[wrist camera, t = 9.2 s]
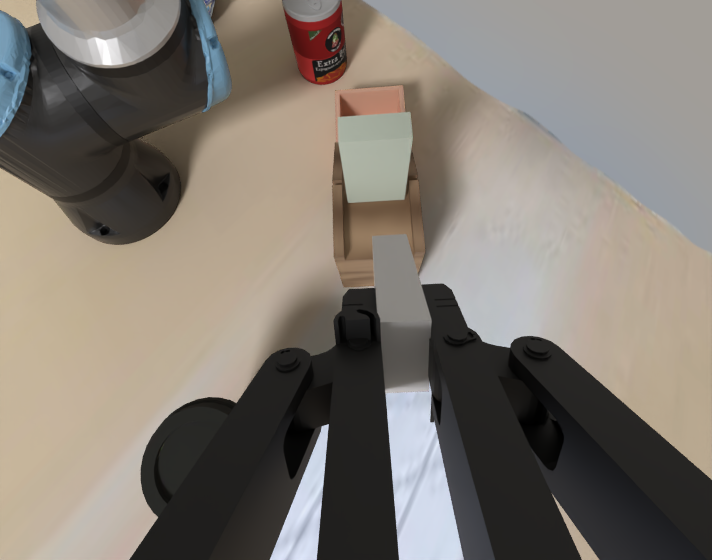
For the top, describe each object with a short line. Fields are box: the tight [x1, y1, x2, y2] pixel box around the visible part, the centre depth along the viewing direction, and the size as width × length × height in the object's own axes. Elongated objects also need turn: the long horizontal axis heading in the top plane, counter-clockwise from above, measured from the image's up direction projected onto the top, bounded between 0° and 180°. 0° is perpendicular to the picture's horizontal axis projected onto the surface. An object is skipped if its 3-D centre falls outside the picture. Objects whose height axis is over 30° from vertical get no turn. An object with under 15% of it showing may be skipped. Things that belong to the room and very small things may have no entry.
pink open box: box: [335, 85, 405, 143], centre depth 51 cm, size 10×9×5 cm
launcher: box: [332, 142, 425, 287], centre depth 44 cm, size 16×9×11 cm, turn 2°
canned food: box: [282, 0, 347, 85], centre depth 53 cm, size 8×8×11 cm
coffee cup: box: [141, 397, 236, 517], centre depth 35 cm, size 10×10×15 cm
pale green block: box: [338, 112, 413, 203], centre depth 35 cm, size 2×6×10 cm, turn 92°
